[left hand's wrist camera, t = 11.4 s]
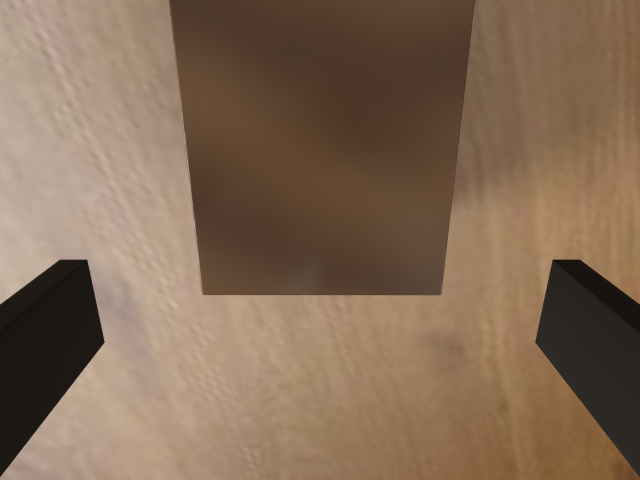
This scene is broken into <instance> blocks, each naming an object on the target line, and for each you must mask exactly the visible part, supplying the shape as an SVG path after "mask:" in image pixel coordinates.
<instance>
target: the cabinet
mask: <svg viewBox="0 0 640 480" xmlns="http://www.w3.org/2000/svg"><path fill="white" fill-rule="evenodd" d="M474 3H475V0H169V5H170V14H171V22H172V31H173V40H174V49H175V58H176V67H177V76H178V85H179V94H180V103H181V112H182V121H183V130H184V139H185V148H186V156H187V165H188V174H189V183H190V192H191V201H192V210H193V219H194V228H195V237H196V246H197V255H198V264H199V273H200V282H201V290H202V295H441V293H442V284H443V275H444V266H445V257H446V249H447V240H448V231H449V222H450V213H451V205H452V196H453V187H454V178H455V169H456V161H457V152H458V143H459V134H460V126H461V117H462V108H463V99H464V90H465V82H466V73H467V64H468V55H469V46H470V38H471V29H472V20H473V11H474Z"/></svg>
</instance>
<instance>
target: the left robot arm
mask: <svg viewBox="0 0 640 480" xmlns="http://www.w3.org/2000/svg"><path fill="white" fill-rule="evenodd" d="M104 343H105V342H104V337H103V332H102V327H101V323H100V318H99V313H98V308H97V304H96V299H95V294H94V289H93V285H92V280H91V275H90V270H89V266H88V261H87V260H59V261H58V262H56V263H55V264H54V265H52V266H51V267H50V268H48V269H47V270H46V271H44V272H43V273H42V274H40V275H39V276H38V277H36V278H35V279H34V280H32V281H31V282H30V283H28V284H27V285H26V286H24V287H23V288H22V289H20V290H19V291H18V292H16V293H15V294H14V295H12V296H11V297H10V298H8V299H7V300H6V301H4V302H3V303H2V304H0V477H1V475H2V474H3V473H4V472H5V470H6V469H7V468H8V466H9V465H10V464H11V463H12V461H13V460H14V459H15V457H16V456H17V455H18V453H19V452H20V451H21V450H22V448H23V447H24V446H25V444H26V443H27V442H28V441H29V439H30V438H31V437H32V435H33V434H34V433H35V432H36V430H37V429H38V428H39V426H40V425H41V424H42V423H43V421H44V420H45V419H46V417H47V416H48V415H49V414H50V412H51V411H52V410H53V408H54V407H55V406H56V404H57V403H58V402H59V401H60V399H61V398H62V397H63V395H64V394H65V393H66V392H67V390H68V389H69V388H70V386H71V385H72V384H73V383H74V381H75V380H76V379H77V377H78V376H79V375H80V374H81V372H82V371H83V370H84V368H85V367H86V366H87V364H88V363H89V362H90V361H91V359H92V358H93V357H94V355H95V354H96V353H97V352H98V350H99V349H100V348H101V346H102V345H103V344H104ZM535 343H536V344H537V345H538V346H539V348H540V349H541V350H542V352H543V353H544V354H545V355H546V357H547V358H548V359H549V361H550V362H551V363H552V364H553V366H554V367H555V368H556V370H557V371H558V372H559V374H560V375H561V376H562V377H563V379H564V380H565V381H566V383H567V384H568V385H569V386H570V388H571V389H572V390H573V392H574V393H575V394H576V395H577V397H578V398H579V399H580V401H581V402H582V403H583V404H584V406H585V407H586V408H587V410H588V411H589V412H590V414H591V415H592V416H593V417H594V419H595V420H596V421H597V423H598V424H599V425H600V426H601V428H602V429H603V430H604V432H605V433H606V434H607V435H608V437H609V438H610V439H611V441H612V442H613V443H614V444H615V446H616V447H617V448H618V450H619V451H620V452H621V453H622V455H623V456H624V457H625V459H626V460H627V461H628V463H629V464H630V465H631V466H632V468H633V469H634V470H635V472H636V473H637V474H638V475H639V477H640V304H638V303H637V302H636V301H634V300H633V299H632V298H630V297H629V296H628V295H626V294H625V293H624V292H622V291H621V290H620V289H618V288H617V287H616V286H614V285H613V284H612V283H610V282H609V281H608V280H606V279H605V278H604V277H602V276H601V275H600V274H598V273H597V272H596V271H594V270H593V269H592V268H590V267H589V266H588V265H586V264H585V263H584V262H582V261H581V260H553V261H552V266H551V270H550V275H549V280H548V285H547V289H546V294H545V299H544V304H543V308H542V313H541V318H540V323H539V327H538V332H537V337H536V342H535Z"/></svg>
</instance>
